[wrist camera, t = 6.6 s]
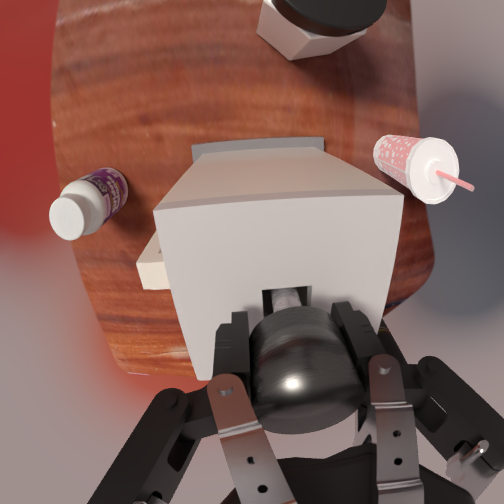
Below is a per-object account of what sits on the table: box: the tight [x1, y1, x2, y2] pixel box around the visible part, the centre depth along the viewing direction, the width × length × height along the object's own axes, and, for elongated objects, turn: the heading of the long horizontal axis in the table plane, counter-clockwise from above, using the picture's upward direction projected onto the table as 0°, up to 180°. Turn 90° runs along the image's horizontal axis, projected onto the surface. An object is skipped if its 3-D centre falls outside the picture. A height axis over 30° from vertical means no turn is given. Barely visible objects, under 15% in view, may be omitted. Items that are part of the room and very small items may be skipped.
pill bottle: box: [49, 168, 128, 240], centre depth 25 cm, size 5×5×10 cm
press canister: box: [136, 136, 404, 380], centre depth 22 cm, size 13×15×18 cm
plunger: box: [249, 287, 365, 434], centre depth 15 cm, size 8×8×16 cm
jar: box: [256, 0, 387, 60], centre depth 16 cm, size 9×8×12 cm
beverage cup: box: [373, 135, 474, 204], centre depth 22 cm, size 6×6×14 cm
